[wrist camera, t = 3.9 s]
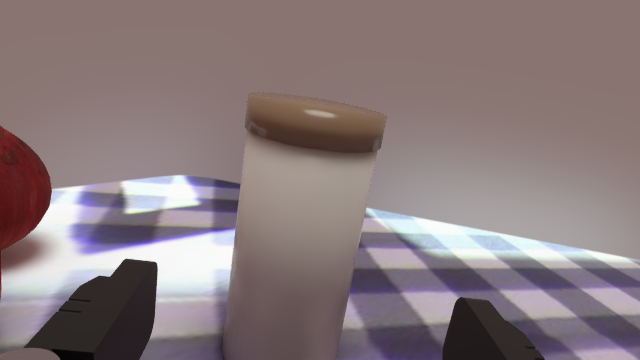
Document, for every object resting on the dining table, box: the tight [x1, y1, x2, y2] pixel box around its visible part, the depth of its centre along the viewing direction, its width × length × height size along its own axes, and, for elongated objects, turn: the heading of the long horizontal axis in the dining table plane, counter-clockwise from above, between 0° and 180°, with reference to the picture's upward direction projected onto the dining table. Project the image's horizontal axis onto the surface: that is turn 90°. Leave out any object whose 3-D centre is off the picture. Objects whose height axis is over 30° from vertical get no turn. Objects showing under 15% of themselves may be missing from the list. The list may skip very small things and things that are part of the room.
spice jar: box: [222, 93, 387, 360], centre depth 18 cm, size 5×5×11 cm
